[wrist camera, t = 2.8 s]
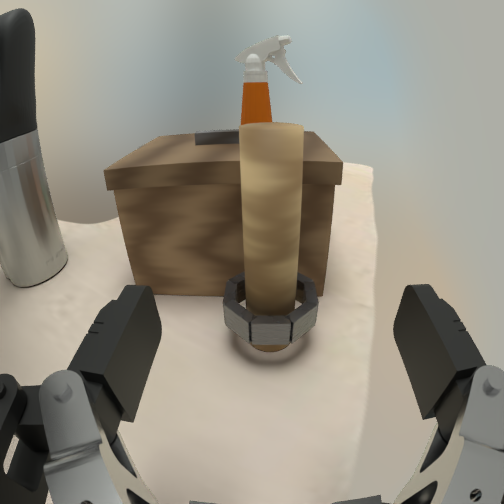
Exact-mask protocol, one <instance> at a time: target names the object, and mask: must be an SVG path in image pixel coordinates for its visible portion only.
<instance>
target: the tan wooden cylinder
mask: <svg viewBox="0 0 504 504" xmlns="http://www.w3.org/2000/svg"><path fill="white" fill-rule="evenodd" d="M303 141H304V127H303V126H302V125H298V124H291V123H278V122H262V123H250V124H244V125H241V126H239V143H240V170H241V196H242V221H243V246H244V269H245V291H246V309H247V310H248V311H250V312H251V313H252V314H254V315H263V316H281V315H288V314H290V313H291V312H292V311H294V310H295V297H296V285H297V271H298V256H299V240H300V222H301V201H302V176H303ZM289 343H290V342H289ZM250 344H251V345H252V342H251V343H250ZM252 346H253V347H255V348H256V349H258V350H261V351H265V352H275V351H279V350H282V349H284V348H285V347H287V346H288V345H252Z"/></svg>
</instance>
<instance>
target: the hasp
mask: <svg viewBox="0 0 504 504" xmlns="http://www.w3.org/2000/svg"><path fill="white" fill-rule="evenodd" d="M245 299H246V291H245V271H244V272H242V273H240V274H238V275H236V276H234V277H232V278H230V279H229V280H228V281H227V282H226V288H225V294H224V299H223V308H224V318H225V323H226V326H227V327H229V328H230V329H231V330H232V331H234V332H235V333H236V334H237V335H239V336H240V337H241V338H243V339H244V340H245V341H246V342H248V343H249V344H250V343H251V342H252V345H289V342H290V343H293V342H295V341H296V340H297V339H298V338H300V337H301V336H302V335H303V334H305V333H306V332H307V331H308V330H310V329H311V328H312V327H313V326H315V323H316V317H317V310H318V298H317V293H316V288H315V283H314V281H313V280H312V279H310V278H308V277H306V276H305V275H303V274H301V273H299V272H297V285H296V297H295V300H297V301H299V302H300V303H302V305H301V306H299V307H298V308H297V309H295V310H294V311H292V312H291V313H290V314H288V315H281V316H263V315H254V314H252V313H251V312H250V311H248V310H247V309H245V308H244V307H243V306H241V305H240V304H238V303H240V302H242V301H243V300H245Z"/></svg>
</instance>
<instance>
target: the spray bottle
mask: <svg viewBox="0 0 504 504" xmlns="http://www.w3.org/2000/svg"><path fill="white" fill-rule="evenodd" d="M290 43H291V37H290V36H288V35H287V36H278V35H277V36H275V37H271V38H268V39H266V40H263V41H261V42H259V43H256V44H255V45H253V46H251V47H248V48H247V49H245V50H244V51H243V52H241V53H240V54H239V55H238V56H237V57H236V58H235V60H236V61H238V62H240V63H245V66H246V71H244V85H243V100H242V113H241V125H244V124H250V123H262V122H272V116H271V106H270V98H269V89H268V83H267V71H265V62H266V61H270V62H273V63H274V64H275V65H277V66H278V67H279V68H280V69H281V70H282V71H283V72H284V73H285V74H286V75H287V76H289V77H290V78H291V79H293V80H294V81H296V82H298V83H299V84H302V82H301V81H300V80H299V78H298V77H297V76H296V74H295V73H294V72H293V70H292V69H291V67H290V65H289V64H288V62H287V60H286V58H285V53H286V50H285V49H284V47H283V46H284V45H287V44H290ZM272 55H273V56H275V58H272Z"/></svg>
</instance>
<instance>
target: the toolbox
mask: <svg viewBox="0 0 504 504" xmlns="http://www.w3.org/2000/svg"><path fill="white" fill-rule="evenodd" d="M342 170H343V162H342V161H341V160H340V159H339V157H338V156H337V155H336V154H335V153H334V152H333V151H332V150H331V149H330V148H329V147H328V146H327V145H326V144H325V143H324V142H323V141H322V140H321V139H320V138H319V137H318V136H317V135H316V134H315V133H314V132H308V131H307V132H306V131H304V141H303V176H302V201H301V222H300V240H299V256H298V271H297V272H299V273H301V274H303V275H305V276H306V277H308V278H310V279H312V280H313V281H314V283H315V288H316V293H317V296H323V290H324V282H325V275H326V267H327V259H328V251H329V242H330V233H331V224H332V214H333V203H334V191H335V185H341V182H342ZM104 176H105V180H106V186H107V190H114V195H115V200H116V205H117V210H118V215H119V219H120V224H121V228H122V233H123V237H124V241H125V245H126V249H127V253H128V257H129V261H130V265H131V269H132V273H133V276H134V280H135V283H136V285H143V286H150V287H151V289H152V291H153V294H166V295H198V296H224V294H225V288H226V282H227V281H228V280H229V279H230V278H232V277H234V276H236V275H238V274H240V273H242V272H244V271H245V269H244V246H243V221H242V196H241V170H240V143H239V129H238V130H213V131H198V132H196V133H193V134H180V135H169V136H159V137H157V138H155V139H154V140H152V141H150V142H148V143H147V144H145V145H143V146H142V147H140V148H138V149H137V150H135V151H133V152H132V153H130V154H128V155H127V156H125V157H123V158H122V159H120V160H119V161H117V162H116V163H114V164H112V165H111V166H109V167H108V168H107V169H105V170H104Z"/></svg>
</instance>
